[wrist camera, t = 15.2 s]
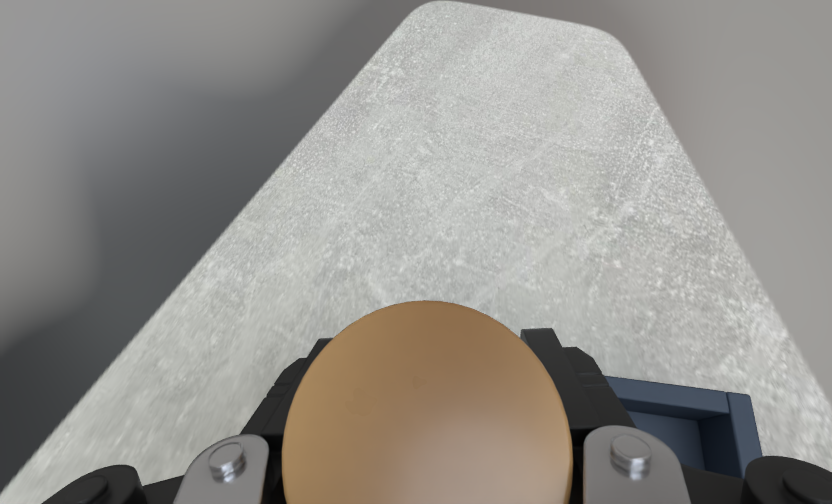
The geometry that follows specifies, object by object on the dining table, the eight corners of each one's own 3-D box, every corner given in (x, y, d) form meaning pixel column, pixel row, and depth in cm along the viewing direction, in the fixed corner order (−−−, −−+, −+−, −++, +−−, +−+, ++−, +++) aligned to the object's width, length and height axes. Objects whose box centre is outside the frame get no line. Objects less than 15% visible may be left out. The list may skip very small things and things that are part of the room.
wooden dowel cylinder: (520, 394, 14) (572, 313, 7) (513, 552, 12) (578, 672, 5) (393, 375, 14) (322, 286, 7) (367, 520, 12) (236, 583, 5)
